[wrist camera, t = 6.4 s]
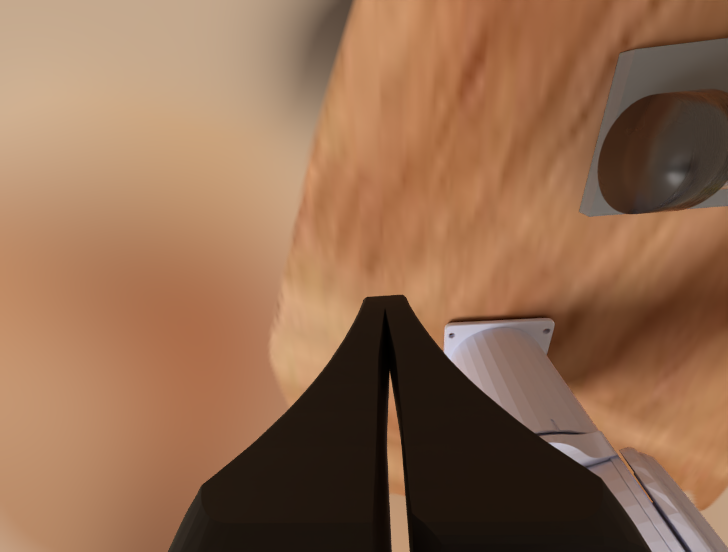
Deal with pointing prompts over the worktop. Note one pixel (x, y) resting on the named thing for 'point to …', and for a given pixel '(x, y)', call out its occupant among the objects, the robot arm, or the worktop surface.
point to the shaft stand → (655, 76)
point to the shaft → (666, 152)
